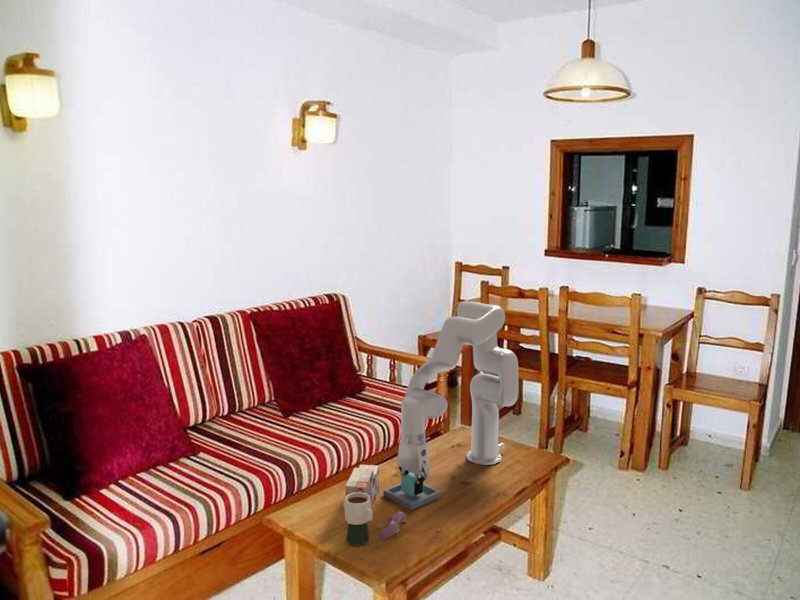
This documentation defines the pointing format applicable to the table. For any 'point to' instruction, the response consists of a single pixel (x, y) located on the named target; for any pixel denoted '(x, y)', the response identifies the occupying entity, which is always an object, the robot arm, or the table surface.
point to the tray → (412, 501)
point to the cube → (408, 484)
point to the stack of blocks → (364, 482)
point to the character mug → (357, 517)
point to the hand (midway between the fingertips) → (412, 489)
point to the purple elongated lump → (392, 525)
